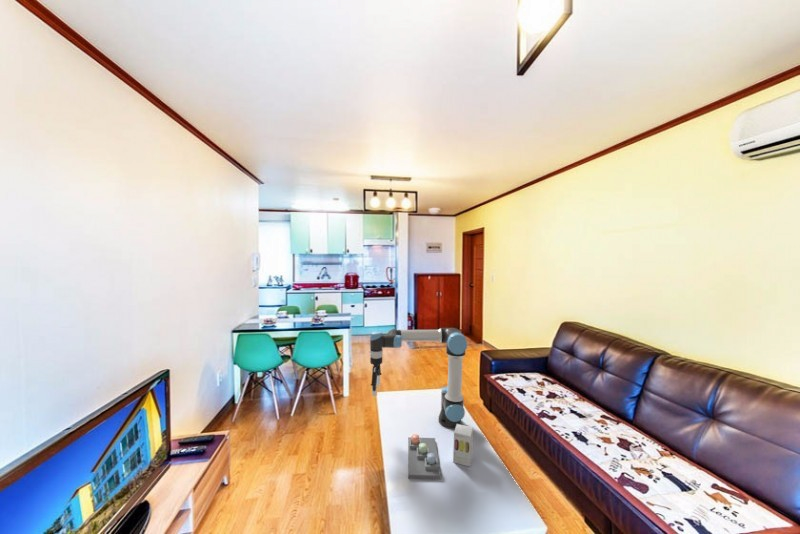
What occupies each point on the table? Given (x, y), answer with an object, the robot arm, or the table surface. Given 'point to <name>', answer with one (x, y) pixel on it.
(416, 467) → the panel
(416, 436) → the coral button
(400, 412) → the table surface
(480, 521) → the table surface
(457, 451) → the supplement box
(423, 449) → the sage button
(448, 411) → the robot arm
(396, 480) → the table surface
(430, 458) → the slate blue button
